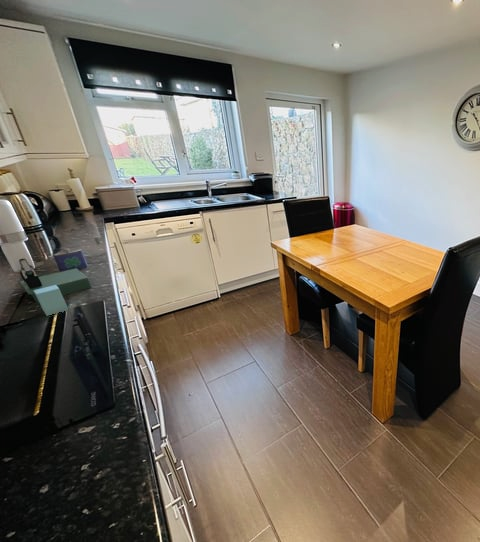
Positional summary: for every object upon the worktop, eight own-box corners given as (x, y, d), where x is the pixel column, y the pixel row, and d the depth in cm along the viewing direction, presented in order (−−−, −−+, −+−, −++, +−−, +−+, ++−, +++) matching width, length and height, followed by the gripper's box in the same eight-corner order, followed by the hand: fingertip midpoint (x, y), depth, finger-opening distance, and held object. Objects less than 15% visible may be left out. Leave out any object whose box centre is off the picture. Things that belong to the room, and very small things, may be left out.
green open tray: (37, 304, 99) (32, 293, 97) (29, 292, 106) (23, 282, 105) (92, 289, 110) (88, 279, 108) (80, 279, 118) (76, 270, 116)
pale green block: (47, 317, 92) (36, 294, 89) (44, 312, 94) (33, 290, 91) (69, 310, 96) (59, 288, 93) (65, 306, 98) (55, 284, 95)
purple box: (87, 267, 129) (79, 245, 125) (90, 268, 128) (81, 246, 124) (60, 273, 122) (50, 250, 118) (62, 275, 121) (52, 252, 117)
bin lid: (28, 294, 96) (21, 281, 94) (20, 283, 104) (14, 270, 102) (88, 279, 108) (83, 267, 106) (76, 270, 116) (72, 258, 114)
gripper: (-12, 235, 96) (13, 281, 103) (-4, 245, 87) (23, 295, 94) (21, 230, 102) (42, 274, 109) (31, 239, 93) (54, 286, 100)
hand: (33, 283), depth 102 cm, fingers open, 7 cm apart
